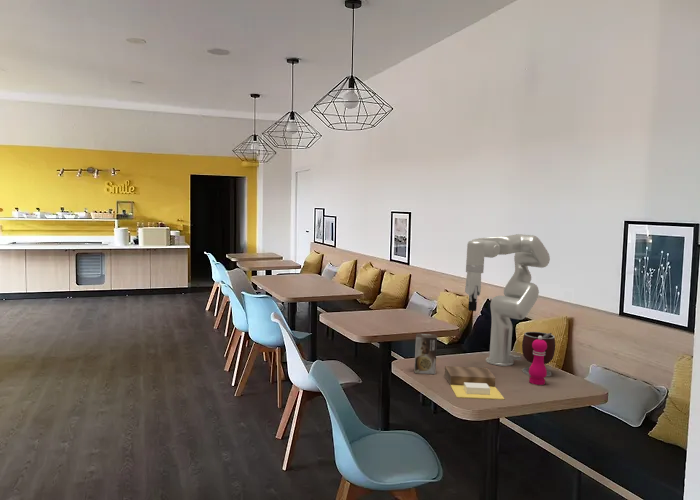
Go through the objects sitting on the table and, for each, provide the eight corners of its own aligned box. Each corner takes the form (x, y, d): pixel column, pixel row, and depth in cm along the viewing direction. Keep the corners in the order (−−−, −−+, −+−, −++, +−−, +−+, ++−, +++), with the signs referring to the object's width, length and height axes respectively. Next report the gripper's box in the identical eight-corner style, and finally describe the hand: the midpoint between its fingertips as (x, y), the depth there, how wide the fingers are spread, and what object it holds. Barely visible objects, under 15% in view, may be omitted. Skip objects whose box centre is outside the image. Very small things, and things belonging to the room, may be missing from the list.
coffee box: (434, 370, 243) (436, 334, 242) (435, 374, 237) (437, 337, 235) (413, 368, 244) (415, 332, 243) (414, 373, 237) (416, 336, 236)
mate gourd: (514, 368, 251) (517, 325, 249) (541, 367, 254) (544, 325, 253) (533, 379, 236) (536, 333, 234) (561, 378, 239) (565, 332, 238)
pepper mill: (529, 378, 236) (532, 333, 234) (547, 381, 233) (550, 335, 231) (526, 383, 230) (530, 336, 228) (545, 386, 226) (548, 338, 225)
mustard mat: (494, 387, 222) (495, 386, 222) (504, 399, 208) (504, 398, 208) (450, 385, 222) (450, 384, 222) (456, 397, 208) (457, 396, 208)
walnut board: (486, 377, 236) (487, 367, 236) (494, 387, 222) (495, 377, 222) (444, 375, 236) (445, 366, 236) (450, 385, 222) (450, 376, 222)
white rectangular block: (490, 388, 212) (489, 394, 212) (486, 383, 218) (486, 389, 218) (466, 387, 212) (466, 393, 212) (463, 382, 218) (463, 388, 218)
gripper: (462, 266, 248) (460, 307, 250) (469, 270, 233) (467, 313, 235) (479, 267, 248) (476, 307, 250) (487, 271, 233) (484, 314, 235)
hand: (472, 310), depth 242 cm, fingers closed
